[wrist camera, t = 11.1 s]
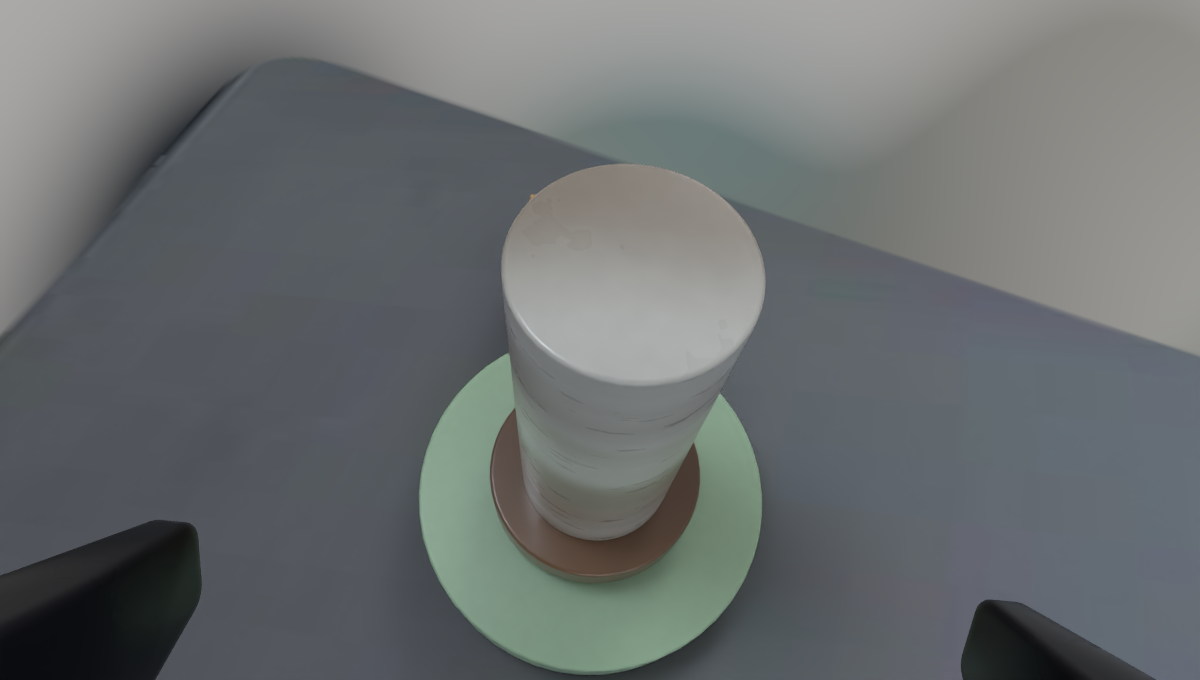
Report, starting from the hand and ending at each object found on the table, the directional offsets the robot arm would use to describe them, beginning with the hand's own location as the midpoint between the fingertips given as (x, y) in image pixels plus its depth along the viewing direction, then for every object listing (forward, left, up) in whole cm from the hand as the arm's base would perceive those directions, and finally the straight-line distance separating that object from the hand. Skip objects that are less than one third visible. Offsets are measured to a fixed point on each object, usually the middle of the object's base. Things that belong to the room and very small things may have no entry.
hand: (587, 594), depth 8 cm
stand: (+4, +2, -11) cm, 12 cm away
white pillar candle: (+6, +4, -9) cm, 12 cm away
